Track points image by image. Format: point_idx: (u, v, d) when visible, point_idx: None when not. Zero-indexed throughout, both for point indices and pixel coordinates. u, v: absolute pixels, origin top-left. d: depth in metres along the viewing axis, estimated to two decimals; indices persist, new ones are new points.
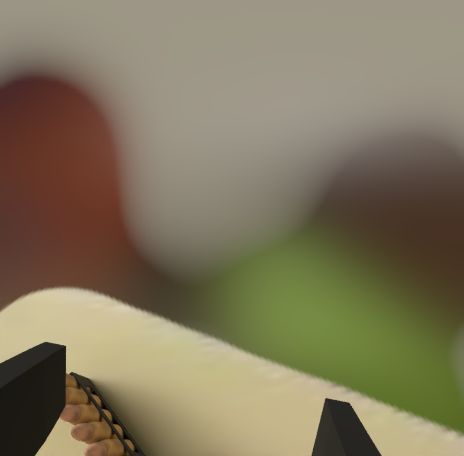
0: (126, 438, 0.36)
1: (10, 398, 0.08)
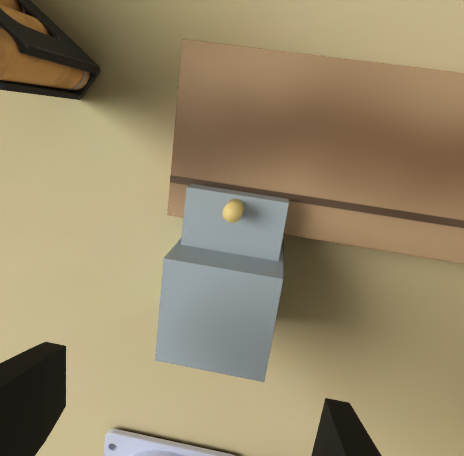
0: None
1: (10, 398, 0.08)
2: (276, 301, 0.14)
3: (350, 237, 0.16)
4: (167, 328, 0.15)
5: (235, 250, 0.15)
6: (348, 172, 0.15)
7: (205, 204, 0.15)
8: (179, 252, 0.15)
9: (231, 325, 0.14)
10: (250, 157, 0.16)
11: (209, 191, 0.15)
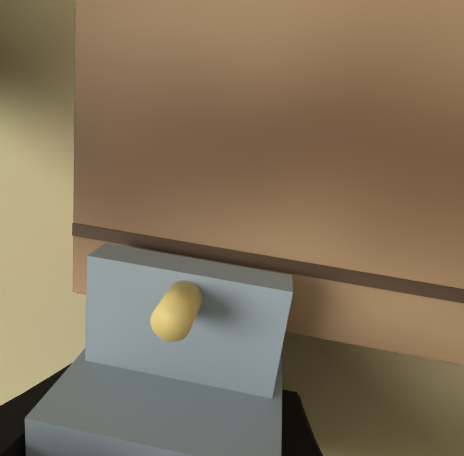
0: None
1: None
2: None
3: (407, 340, 0.08)
4: None
5: (188, 375, 0.08)
6: (409, 223, 0.08)
7: (126, 289, 0.08)
8: (70, 390, 0.07)
9: None
10: (219, 193, 0.08)
11: (132, 265, 0.07)
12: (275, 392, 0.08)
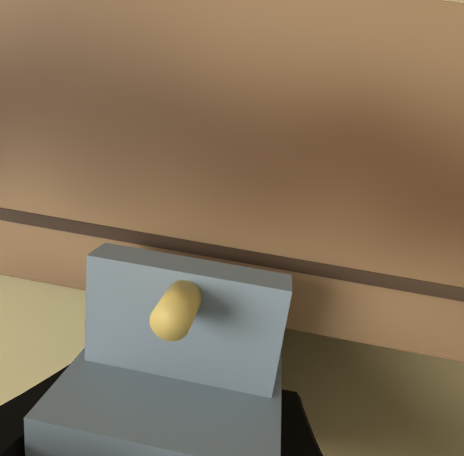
0: None
1: None
2: None
3: None
4: None
5: (187, 375, 0.08)
6: (112, 175, 0.09)
7: (125, 289, 0.08)
8: (70, 389, 0.07)
9: None
10: None
11: (131, 264, 0.07)
12: (274, 392, 0.08)
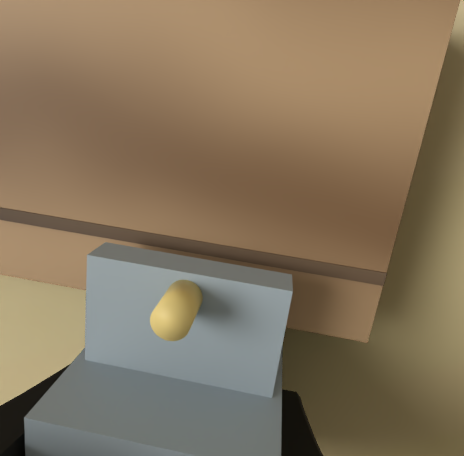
0: None
1: None
2: None
3: None
4: None
5: (188, 375, 0.08)
6: None
7: (125, 288, 0.08)
8: (70, 389, 0.07)
9: None
10: None
11: (132, 264, 0.07)
12: (275, 391, 0.08)
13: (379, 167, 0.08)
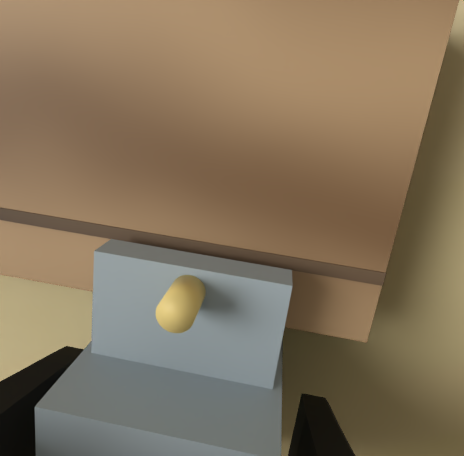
0: None
1: (36, 404, 0.08)
2: None
3: None
4: None
5: (191, 367, 0.08)
6: None
7: (131, 283, 0.08)
8: (78, 380, 0.08)
9: None
10: None
11: (137, 260, 0.08)
12: (275, 383, 0.08)
13: (378, 167, 0.08)
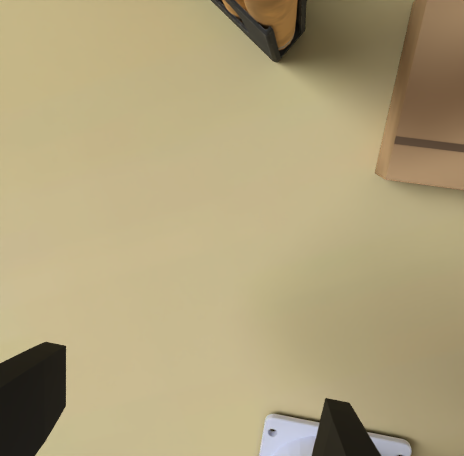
0: None
1: (10, 398, 0.08)
2: None
3: None
4: None
5: None
6: None
7: None
8: None
9: None
10: None
11: None
12: None
13: None
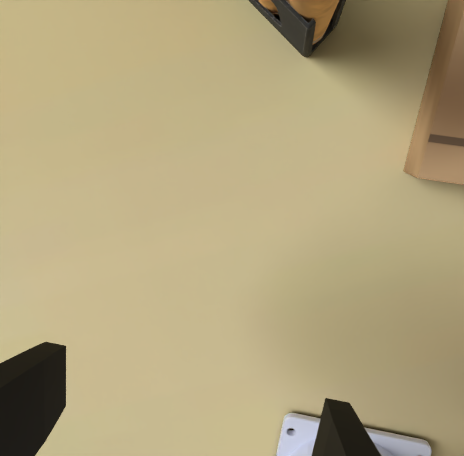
0: None
1: (10, 398, 0.08)
2: None
3: None
4: None
5: None
6: None
7: None
8: None
9: None
10: None
11: None
12: None
13: None
